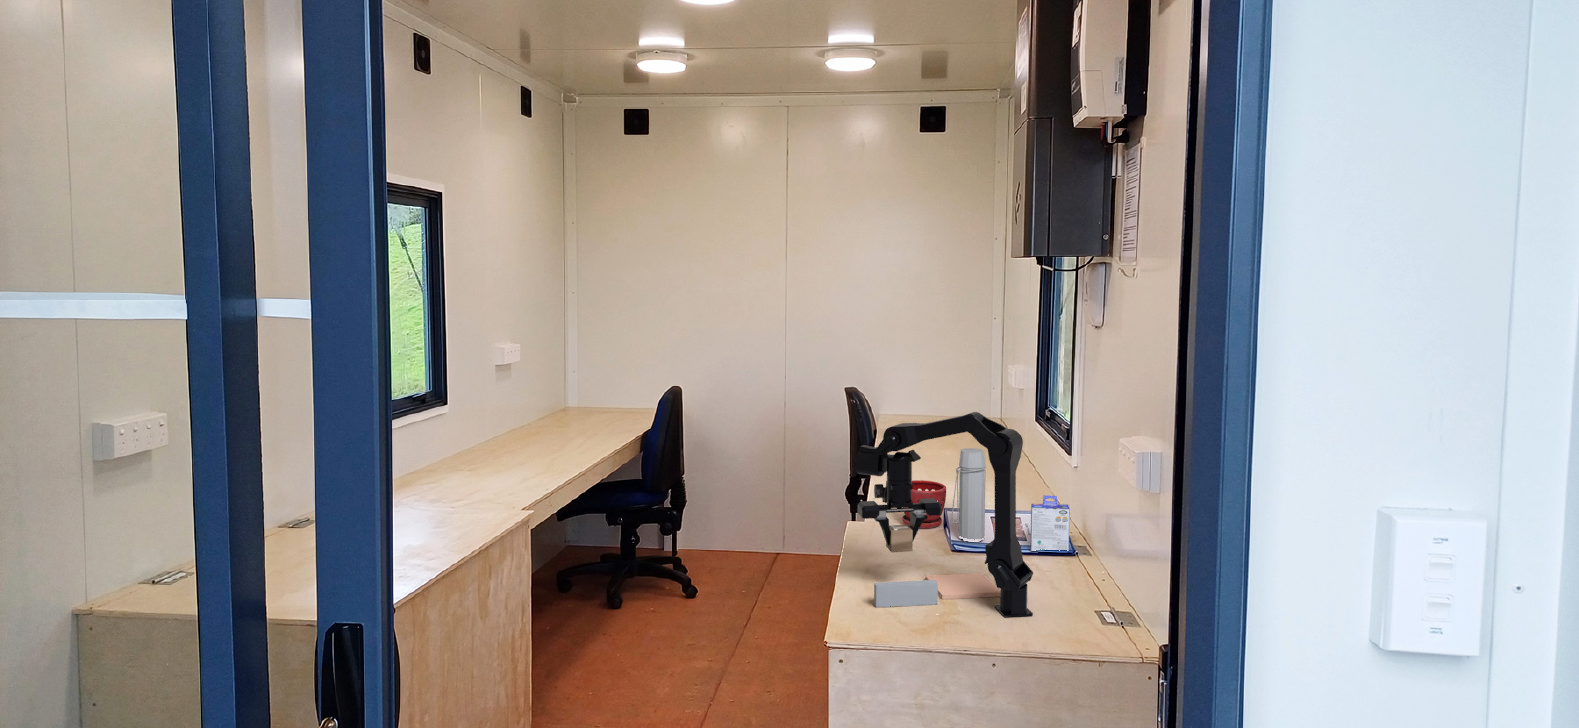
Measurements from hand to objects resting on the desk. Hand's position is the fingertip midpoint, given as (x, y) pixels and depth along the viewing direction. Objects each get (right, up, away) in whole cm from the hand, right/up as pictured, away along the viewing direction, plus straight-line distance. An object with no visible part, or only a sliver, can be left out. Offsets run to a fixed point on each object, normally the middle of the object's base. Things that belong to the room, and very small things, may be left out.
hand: (899, 544), depth 223 cm
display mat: (+15, -11, +2) cm, 19 cm away
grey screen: (0, -12, -9) cm, 15 cm away
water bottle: (+24, -7, +42) cm, 48 cm away
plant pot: (+14, -5, +57) cm, 59 cm away
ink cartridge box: (+43, -8, +31) cm, 54 cm away
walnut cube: (0, -1, 0) cm, 1 cm away
